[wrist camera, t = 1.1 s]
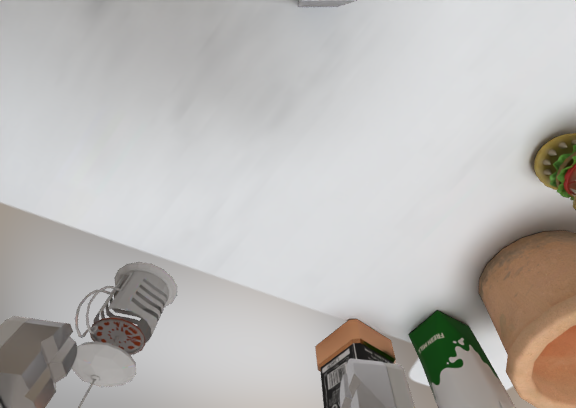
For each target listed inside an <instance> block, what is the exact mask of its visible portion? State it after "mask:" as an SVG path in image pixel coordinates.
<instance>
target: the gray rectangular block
mask: <svg viewBox="0 0 576 408" xmlns="http://www.w3.org/2000/svg"><path fill="white" fill-rule="evenodd" d="M354 1H357V0H298V7H339V6H342V5H345V4H348V3H351V2H354Z"/></svg>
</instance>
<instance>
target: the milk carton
mask: <svg viewBox="0 0 576 408" xmlns="http://www.w3.org/2000/svg"><path fill="white" fill-rule="evenodd" d="M409 337H410V339H411V341H412V343H413V346H414V348H415V350H416V352H417V355H418V357H419V359H420V361H421V363H422V366H423V368H424V371H425V374H426V376H427V379H428V382H429V385H430V387H431V390H432V393H433V395H434V398H435V401H436V403H437V406H438V408H516V407H515V406H514V404H513V402H512V401H511V399H510V397H509V395H508V393H507V392H506V390H505V388H504V386H503V385H502V383H501V381H500V379H499V378H498V376H497V374H496V372H495V371H494V369H493V367H492V365H491V364H490V362H489V360H488V358H487V357H486V355H485V353H484V351H483V350H482V348H481V346H480V344H479V343H478V341H477V339H476V337H475V336H474V334H473V332H472V331H471V329H470V327H469V326H467V325H465V324H463V323H461V322H459V321H457V320H455V319H453V318H452V317H450V316H448V315H446V314H444V313H442V312H440V311H438V310H437V311H436V312H435V313H434V314H432V315H431V316H430V317H429V318H428V319H427V320H425V321H424V322H423V323H422V324H421V325H420V326H418V327H417V328H416V329H415V330H414V331H413V332H411V333H410V334H409Z"/></svg>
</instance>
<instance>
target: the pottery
mask: <svg viewBox="0 0 576 408" xmlns="http://www.w3.org/2000/svg"><path fill="white" fill-rule="evenodd" d="M479 295H480V297H481V298H482V300H483V302H484V304H485V306H486V309H487V311H488V313H489V315H490V317H491V320H492V322H493V324H494V326H495V328H496V330H497V333H498V335H499V337H500V339H501V341H502V343H503V346H504V348H505V350H506V352H507V354H508V359H507V366H506V373H507V375H508V377H509V378H510V380H511V382H512V384H513V386H514V388H515V389H516V391H517V393H518V394H519V396H520V397H521V398H522V399H524V400H525V401H527V402H528V403H530V404H532V405H534V406H535V407H537V408H576V233H572V232H569V231H544V232H541V233H537V234H534V235H531V236H527V237H524V238H521V239H519V240H517V241H516V242H514V243H512V244H510V245H509V246H507V247H505V248H503V249H502V250H501V251H500V252H499V253H498V254H497V255H496V256H495V257H494V258H493V259H492V260H491V261H490V262H489V263H488V264H487V265H486V267H485V269H484V271H483V273H482V275H481V277H480V279H479Z"/></svg>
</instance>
